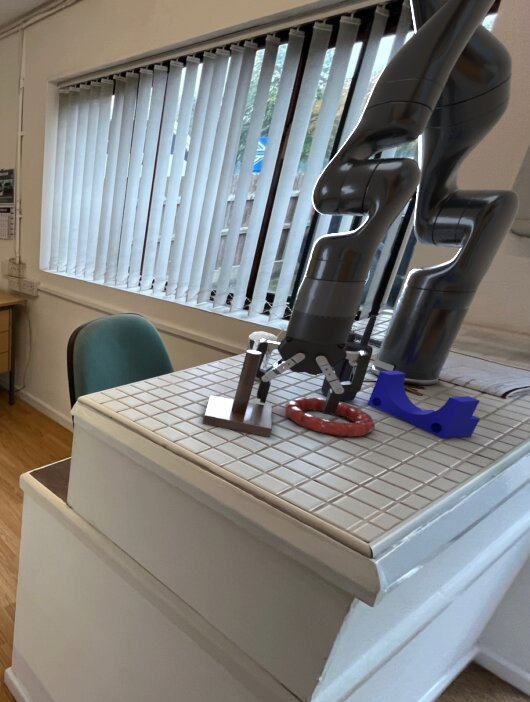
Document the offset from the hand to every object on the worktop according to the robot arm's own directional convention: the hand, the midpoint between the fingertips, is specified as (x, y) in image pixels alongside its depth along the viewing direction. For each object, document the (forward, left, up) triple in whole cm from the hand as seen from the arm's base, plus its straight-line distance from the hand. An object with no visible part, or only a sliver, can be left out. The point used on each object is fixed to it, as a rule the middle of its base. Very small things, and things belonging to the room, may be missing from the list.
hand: (292, 406), depth 75 cm
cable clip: (-8, +17, -2) cm, 19 cm away
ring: (0, +5, -1) cm, 5 cm away
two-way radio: (-12, +7, -2) cm, 14 cm away
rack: (+6, -7, -2) cm, 10 cm away
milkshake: (-16, -5, -2) cm, 17 cm away
